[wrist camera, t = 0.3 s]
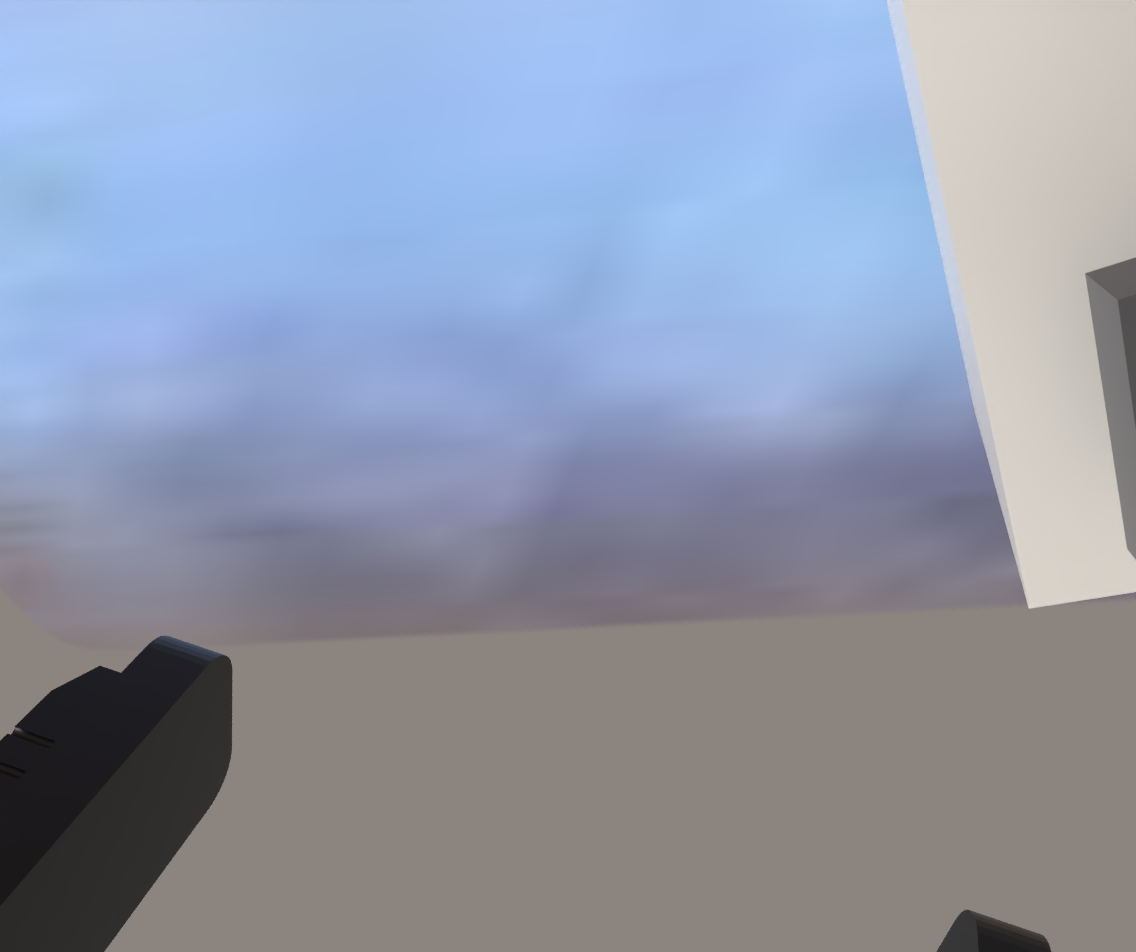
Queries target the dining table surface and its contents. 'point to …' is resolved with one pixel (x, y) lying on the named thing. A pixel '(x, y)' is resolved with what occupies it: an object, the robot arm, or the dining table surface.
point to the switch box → (1033, 253)
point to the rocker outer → (1118, 374)
